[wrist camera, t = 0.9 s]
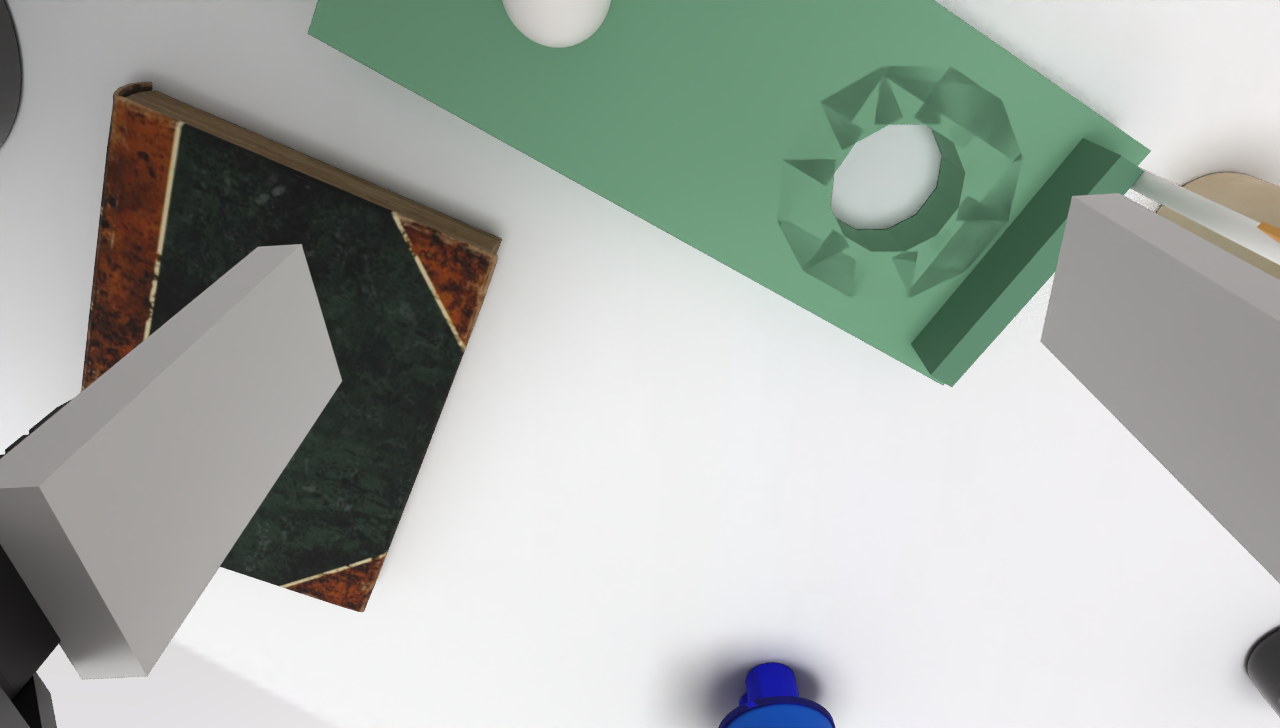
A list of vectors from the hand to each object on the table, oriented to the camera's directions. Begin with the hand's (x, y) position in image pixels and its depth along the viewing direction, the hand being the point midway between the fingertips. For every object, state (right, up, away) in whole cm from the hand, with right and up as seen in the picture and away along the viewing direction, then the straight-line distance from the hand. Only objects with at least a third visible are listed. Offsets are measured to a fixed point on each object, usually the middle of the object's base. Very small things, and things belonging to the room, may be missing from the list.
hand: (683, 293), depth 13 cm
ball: (-4, +12, +14) cm, 19 cm away
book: (-20, -1, +28) cm, 35 cm away
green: (+3, +11, +20) cm, 23 cm away
